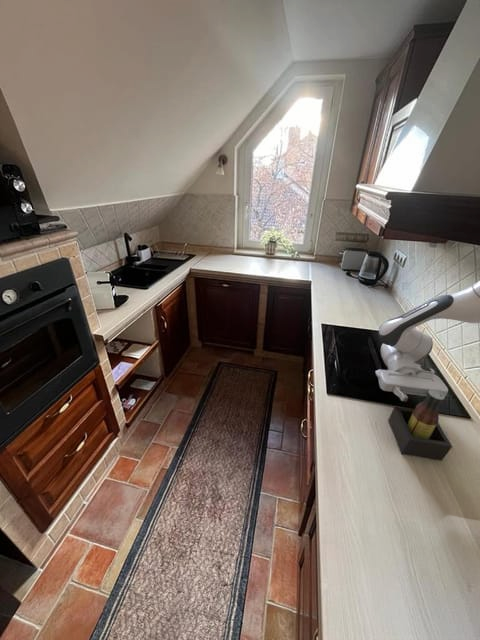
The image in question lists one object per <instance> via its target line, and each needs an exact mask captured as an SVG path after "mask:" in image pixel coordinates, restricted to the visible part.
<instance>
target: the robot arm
mask: <svg viewBox="0 0 480 640" xmlns="http://www.w3.org/2000/svg"><path fill="white" fill-rule="evenodd" d="M440 319H443V320H453V321H458V322H462V323H468V324H480V280H478V281H477V282H475V283H473V284H472V285H470V286H469V287H466V288H465V289H463V290H460V291H457V292H454V293H450V294H442V295H439V296H436V297H434V298H432V299H430V300H428V301H426V302H423V303H422V304H420V305H418V306H416V307H414V308H412V309H411V310H408V311H407V312H404V313H403V314H401V315H398V316H396V317H393V318H390V319H389V320H386V321H384V322H383V323H382V324H380V326H379V329H378V337H379V340H380V342H381V343H382V344H381V346H380V356H381V358H382V360H383V363H384V364H385V367H387V369H382V368H378V369H377V370H375V371H374V373H375V376H376V377H377V380H378V385H379V388H380V389H381V390H382V391H383V392H390V393H393V394H394V395H395V396H397V397H398V398H399V400H400V401H401V402H408V400H409V396H408V395H412V396H413V395H414V396H421V397H427V393H428V391H429V390H437V391H439V392H441V393H442V394H443V395H444V396H445V397H446V396H447V395H448V392H449V388H448V387H447V385H446V384H445V383H444V381H443V380H442V379H441V378H440V377H439V376H438V375H436V374H435V373H436V372H435V370H434V369H433V368H431V367H427V366H424V365H421V364H418V362H419V361H421V360H423V359H424V358H426V357H427V356H428V355H430V353H431V352H432V350H433V345H434V344H433V343H434V342H433V338H432V337H431V336H430V335H429V334H426V333H424V332H422V331H421V330H419V329H416V328H417V327H419V326H421V325H423V324H426V323H428V322H430V321H431V320H440Z"/></svg>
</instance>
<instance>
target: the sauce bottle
mask: <svg viewBox="0 0 480 640" xmlns="http://www.w3.org/2000/svg"><path fill="white" fill-rule="evenodd" d="M445 399H446V396H444V395H443V394H442V393H441V392H439V391H437V390H429V391H428V393H427V396H425V398H424V399H423V401H420V402H418V404H416V406H415V408H414V409H415V410H414V412H413V414H412V416H411V418H410V420H409V422H408V424H407V427H408V429H409V431H410V433H411V435H412V437H416V438H423V439H429V437H430V436H431V434H432V432H433V430H434V428H435V426H436V425H437V423H439V420H440V419H439V417H440V408H441V405H442V404H443V403H444V402H445Z"/></svg>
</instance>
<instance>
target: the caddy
mask: <svg viewBox="0 0 480 640" xmlns="http://www.w3.org/2000/svg"><path fill="white" fill-rule="evenodd" d="M414 410H415V408H408V407H401V406H394V407H393V409H392V411H391V413H390V415H389V417H388V419H387V422H388V425H389V426H390V429H391V432H392V434H393V437H394V439H395V442H396V444H397V447H398V449H399V452H400V454H401V455H406V456H412V457H418V458H423V459H430V460H437V461H443V460H444V459H445V457H446V456H447V455H448V453H450V450H451V449H452V447H453V445H452V442H450V439H448V436H447V435H446V433H445V432H444V429H443V428H442V427H441V425H440V423H439V422H438V423H437V425H436V426H435V428H434V430H433V432H432V434H431V436H430V437H429V439H423V438H416V437H412V435H411V433H410V431H409V429H408V427H407V424H408V422H409V420H410V418H411V416H412V414H413V412H414Z"/></svg>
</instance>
